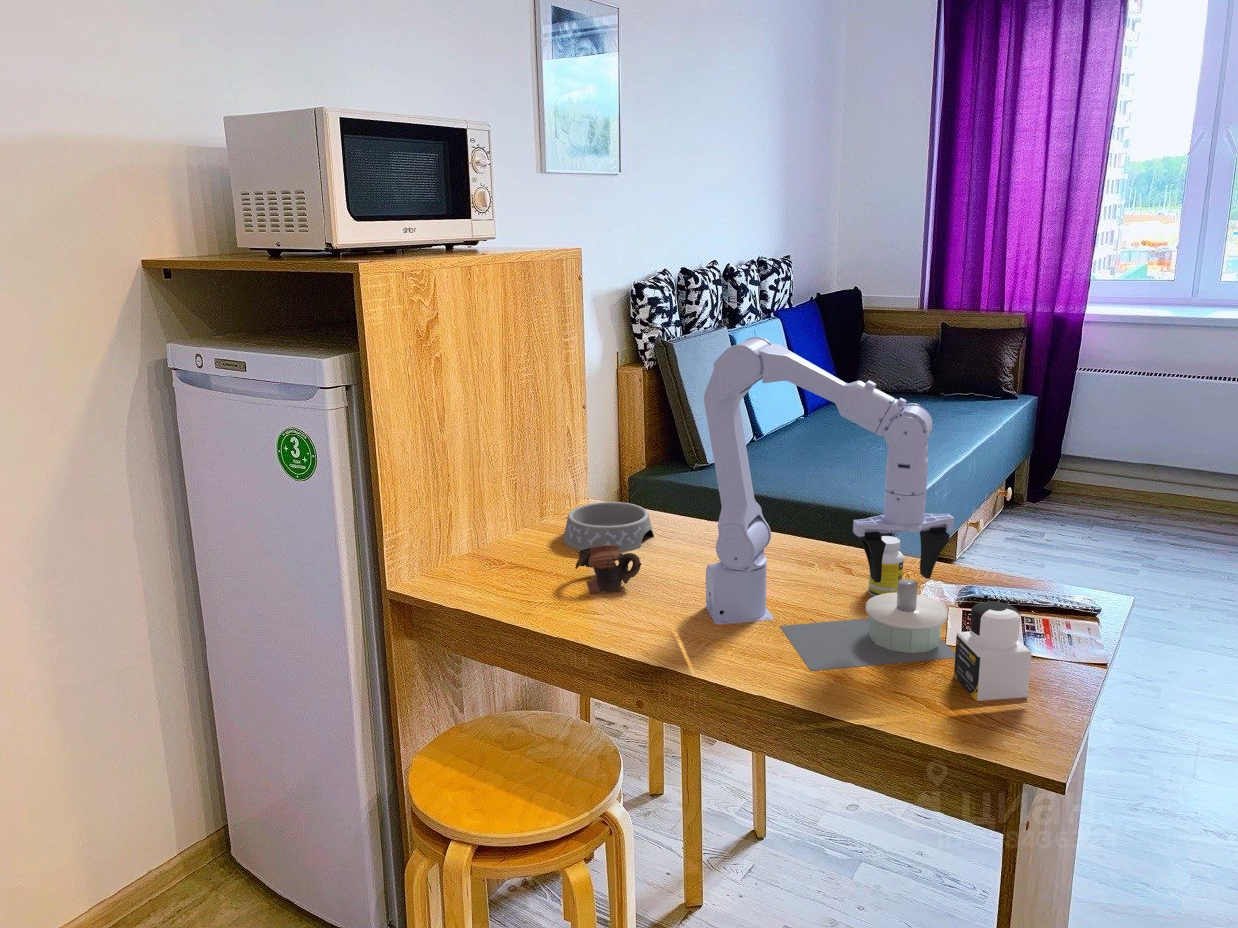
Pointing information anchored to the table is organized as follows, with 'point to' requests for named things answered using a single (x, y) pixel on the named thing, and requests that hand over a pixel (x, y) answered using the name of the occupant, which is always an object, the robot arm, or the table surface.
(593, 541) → the dog bowl
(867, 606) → the lid
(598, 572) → the pottery mug
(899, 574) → the supplement bottle
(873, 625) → the bowl
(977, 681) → the medicine bottle
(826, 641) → the mat
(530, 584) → the table surface
